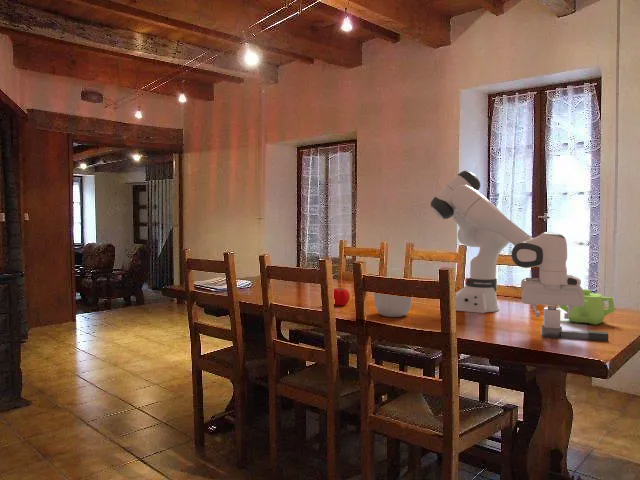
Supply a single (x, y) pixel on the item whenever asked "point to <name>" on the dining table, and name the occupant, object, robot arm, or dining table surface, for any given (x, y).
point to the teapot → (591, 309)
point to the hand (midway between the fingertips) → (552, 317)
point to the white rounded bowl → (392, 305)
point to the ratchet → (574, 334)
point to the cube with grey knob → (551, 317)
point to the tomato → (341, 296)
